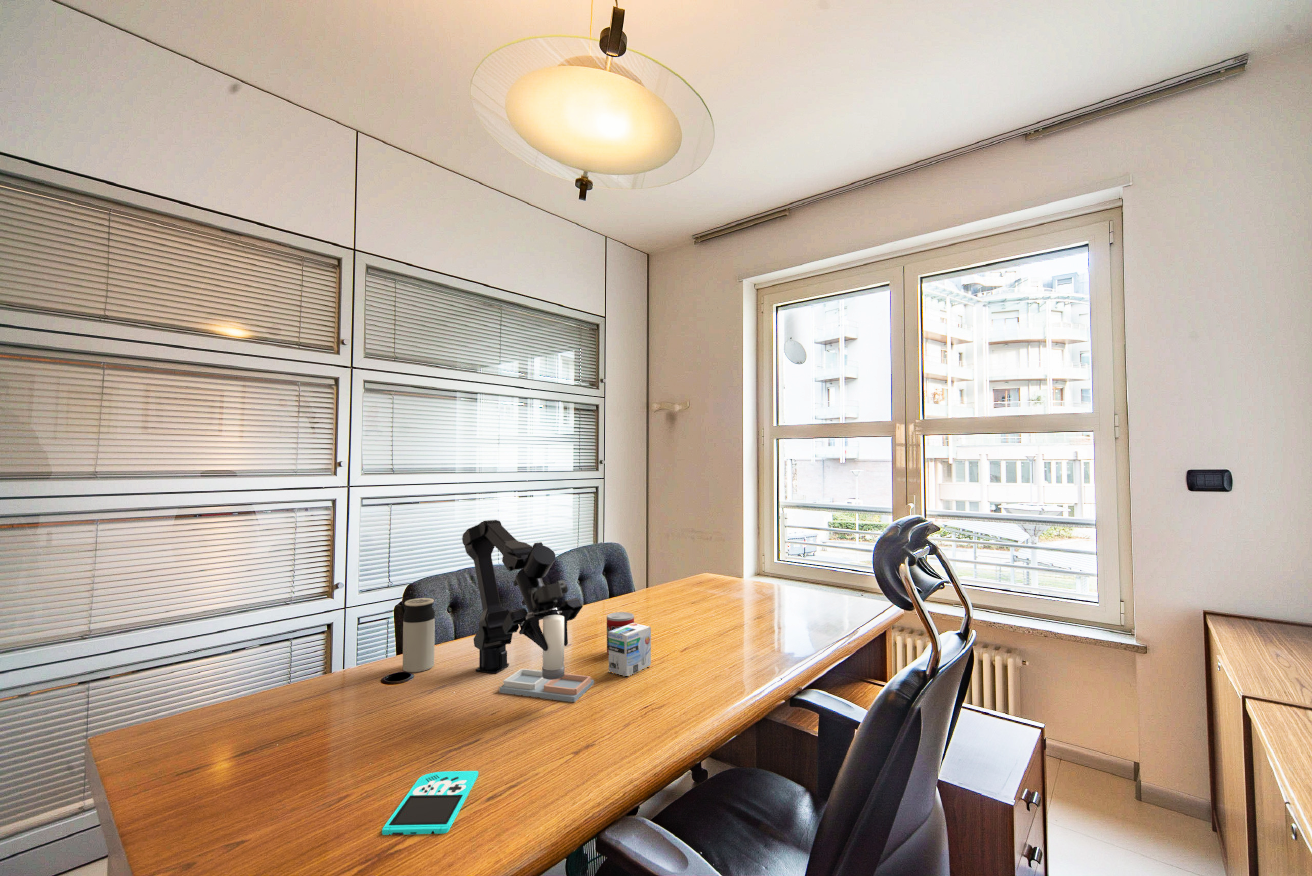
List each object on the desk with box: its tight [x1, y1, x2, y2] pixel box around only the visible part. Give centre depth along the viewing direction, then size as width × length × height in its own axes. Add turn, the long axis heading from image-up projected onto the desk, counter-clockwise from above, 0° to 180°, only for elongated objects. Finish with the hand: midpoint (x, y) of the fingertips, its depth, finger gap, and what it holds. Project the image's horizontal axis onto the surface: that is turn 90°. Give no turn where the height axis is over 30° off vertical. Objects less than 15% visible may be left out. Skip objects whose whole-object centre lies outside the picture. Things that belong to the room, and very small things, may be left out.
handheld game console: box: [381, 770, 479, 836], centre depth 90 cm, size 10×16×1 cm, turn 1°
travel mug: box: [402, 597, 436, 673], centre depth 152 cm, size 8×8×18 cm
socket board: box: [498, 668, 595, 703], centre depth 137 cm, size 20×11×2 cm, turn 72°
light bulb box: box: [608, 622, 652, 677], centre depth 150 cm, size 11×7×11 cm, turn 143°
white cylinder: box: [541, 615, 565, 680], centre depth 127 cm, size 5×5×13 cm
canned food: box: [606, 611, 635, 655], centre depth 162 cm, size 8×8×11 cm
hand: (556, 647), depth 126 cm, fingers closed on white cylinder, 5 cm apart
